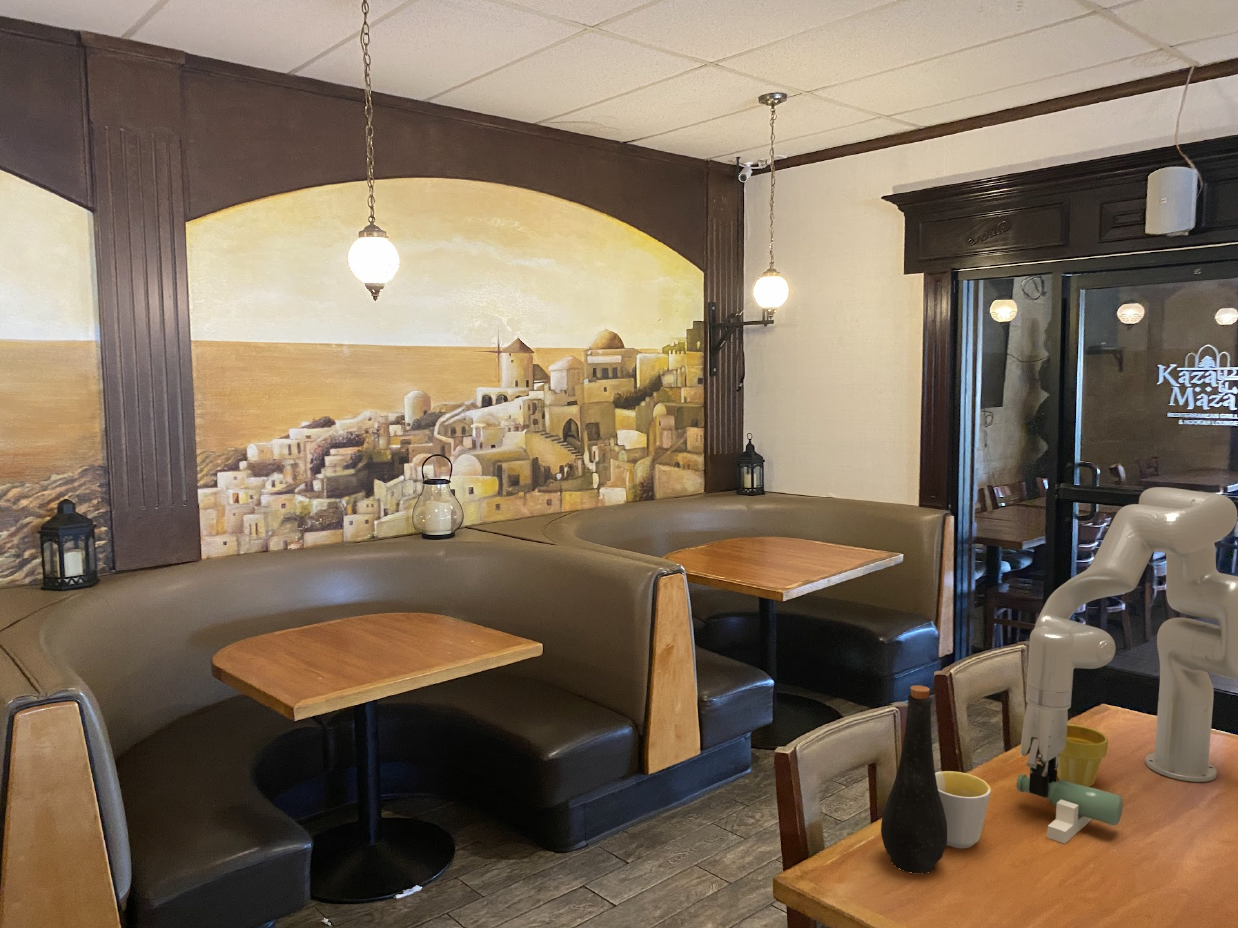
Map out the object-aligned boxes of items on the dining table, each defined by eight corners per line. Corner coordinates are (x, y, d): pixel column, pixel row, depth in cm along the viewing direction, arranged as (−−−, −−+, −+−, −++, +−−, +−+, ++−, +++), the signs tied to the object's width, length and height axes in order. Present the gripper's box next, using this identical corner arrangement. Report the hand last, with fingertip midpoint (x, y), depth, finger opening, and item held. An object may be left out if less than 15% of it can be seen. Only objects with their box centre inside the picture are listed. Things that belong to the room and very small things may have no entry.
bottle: (950, 883, 150) (959, 702, 147) (882, 875, 152) (889, 696, 149) (941, 849, 161) (949, 680, 157) (877, 843, 163) (884, 675, 159)
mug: (962, 861, 157) (965, 801, 156) (913, 835, 165) (915, 778, 164) (1012, 840, 164) (1015, 782, 163) (963, 816, 173) (965, 761, 172)
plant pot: (1116, 790, 184) (1120, 742, 183) (1068, 793, 182) (1071, 744, 181) (1083, 767, 194) (1086, 722, 193) (1037, 770, 193) (1040, 724, 192)
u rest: (1084, 804, 178) (1086, 778, 177) (1101, 810, 175) (1103, 783, 175) (1047, 837, 165) (1048, 809, 165) (1064, 843, 163) (1066, 815, 162)
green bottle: (1121, 822, 166) (1024, 794, 178) (1123, 793, 167) (1027, 766, 179) (1111, 827, 163) (1013, 798, 175) (1113, 797, 163) (1015, 770, 175)
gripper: (1045, 680, 180) (1039, 772, 182) (1009, 700, 169) (1003, 798, 171) (1086, 690, 175) (1080, 784, 177) (1051, 711, 164) (1045, 812, 166)
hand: (1042, 790), depth 174 cm, fingers open, 3 cm apart
